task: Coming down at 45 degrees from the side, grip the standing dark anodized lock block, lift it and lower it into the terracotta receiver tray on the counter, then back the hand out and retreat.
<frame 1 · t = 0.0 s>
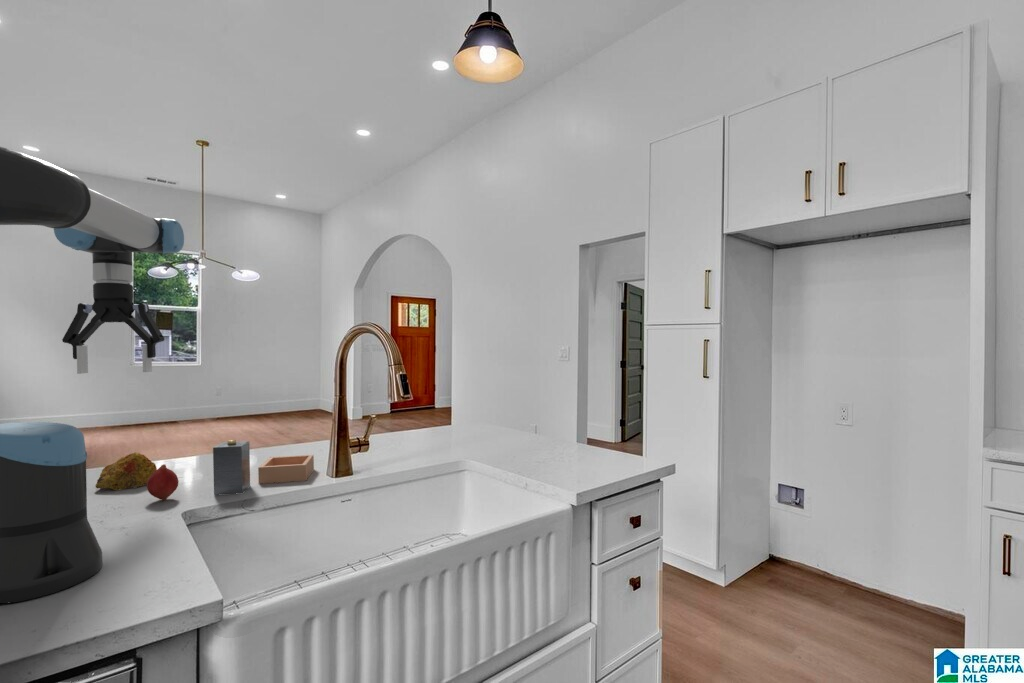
hand: (115, 372, 123), 28 cm above the worktop, tool pointing down, fingers open, 13 cm apart
onion: (163, 500, 115), on the worktop
lock block: (232, 490, 121), on the worktop
rock: (128, 486, 127), on the worktop
receiver tray: (287, 476, 133), on the worktop
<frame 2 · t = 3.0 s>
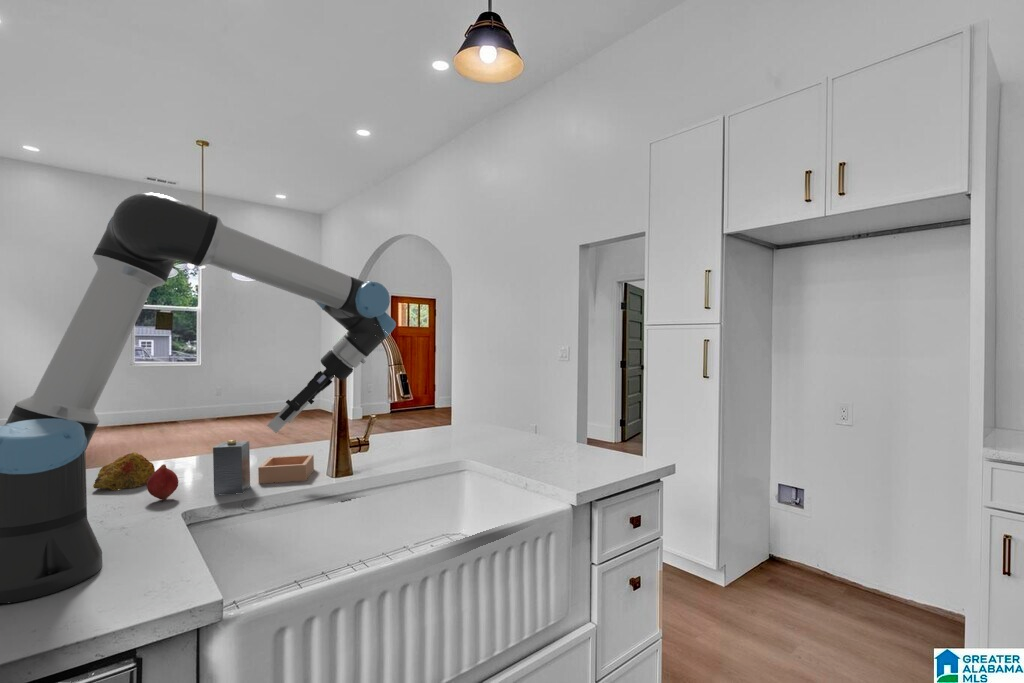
hand: (278, 423, 123), 15 cm above the worktop, tool tilted 45°, fingers open, 13 cm apart
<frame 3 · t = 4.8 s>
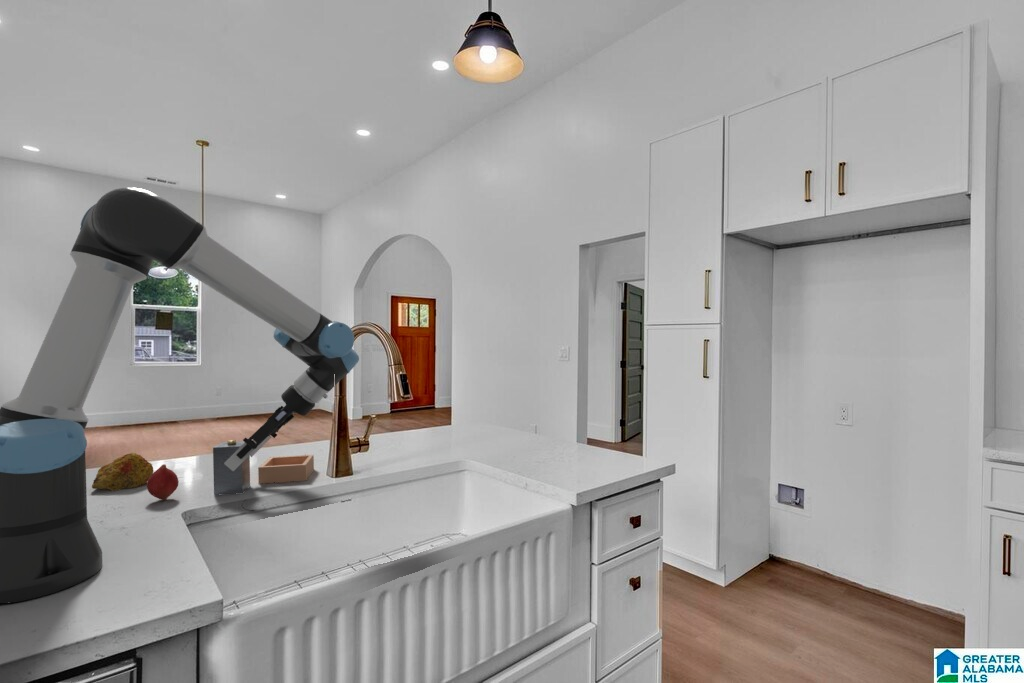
hand: (238, 459, 122), 7 cm above the worktop, tool tilted 45°, fingers open, 13 cm apart
nothing on the worktop moved.
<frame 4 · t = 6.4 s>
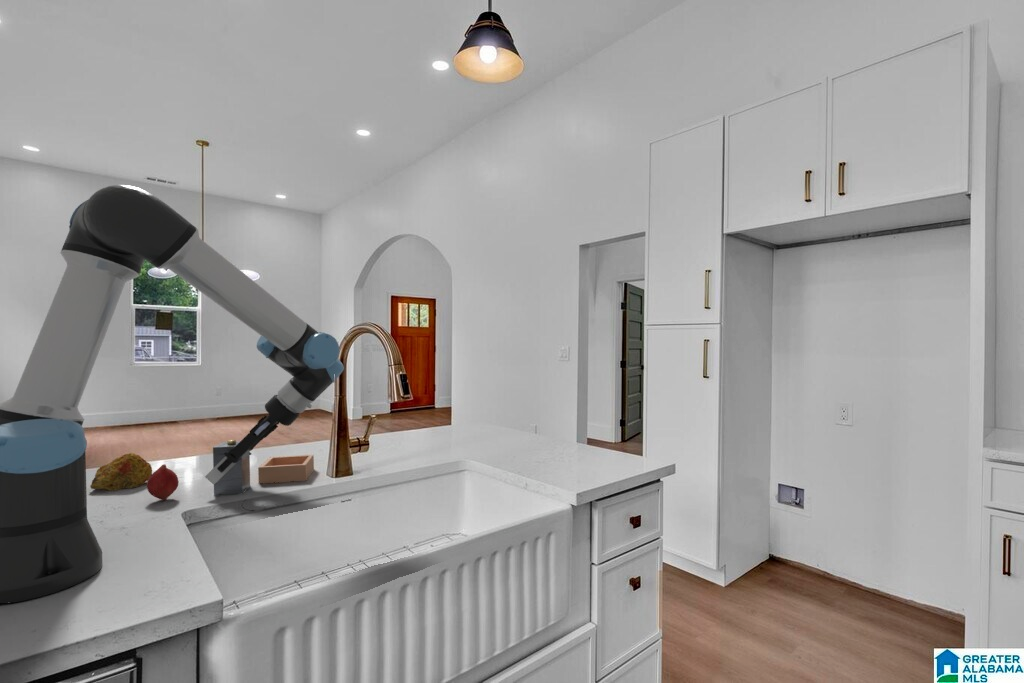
hand: (215, 476, 121), 4 cm above the worktop, tool tilted 45°, fingers closed on lock block, 6 cm apart
lock block: (232, 490, 121), on the worktop, touching gripper
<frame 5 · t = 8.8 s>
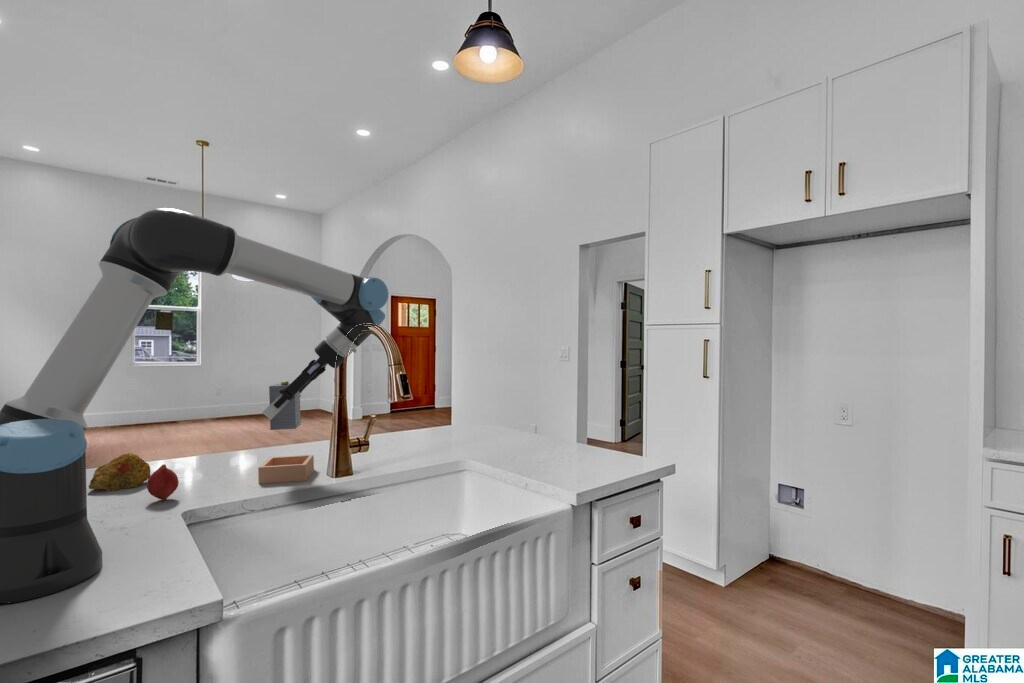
hand: (270, 413, 132), 16 cm above the worktop, tool tilted 45°, fingers closed on lock block, 6 cm apart
lock block: (285, 427, 133), point 13 cm above the worktop, touching gripper
when the fingers open (6 cm above the worktop, at t = 11.6 s): lock block drops 1 cm, resting on receiver tray.
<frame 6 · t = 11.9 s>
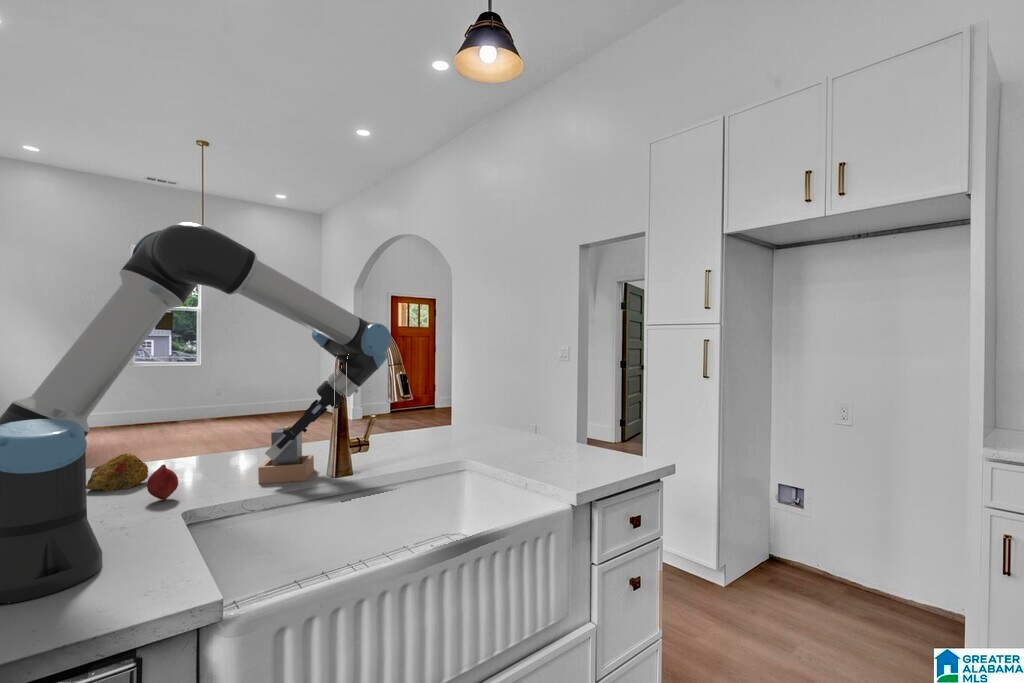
hand: (275, 451, 133), 7 cm above the worktop, tool tilted 45°, fingers open, 10 cm apart
lock block: (287, 472, 133), point 1 cm above the worktop, touching receiver tray
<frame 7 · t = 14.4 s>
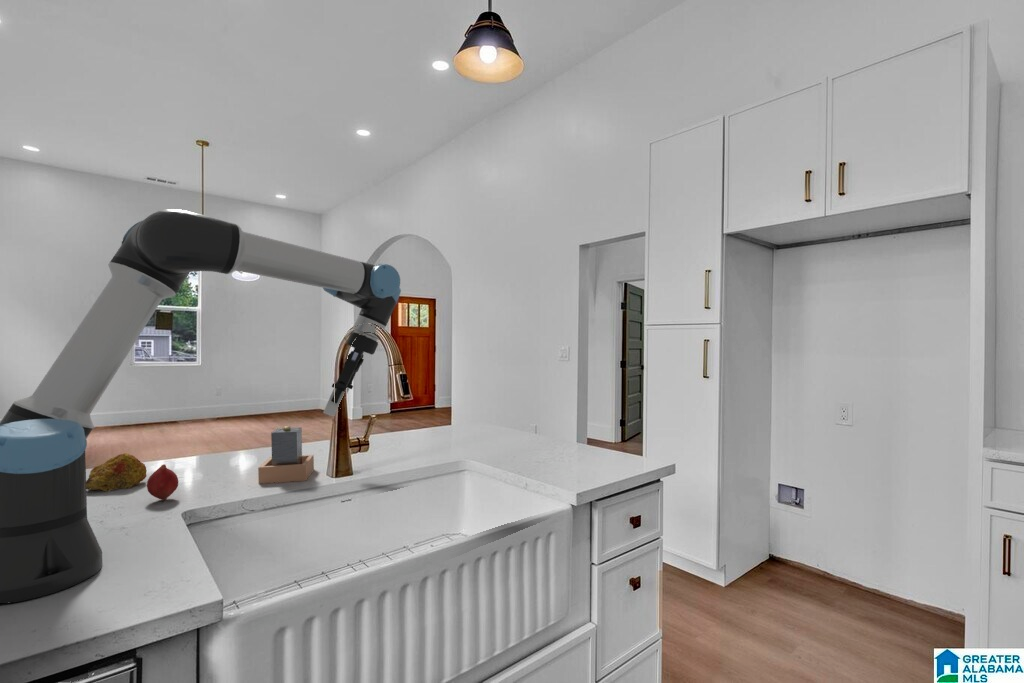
hand: (331, 412, 132), 17 cm above the worktop, tool tilted 25°, fingers open, 13 cm apart
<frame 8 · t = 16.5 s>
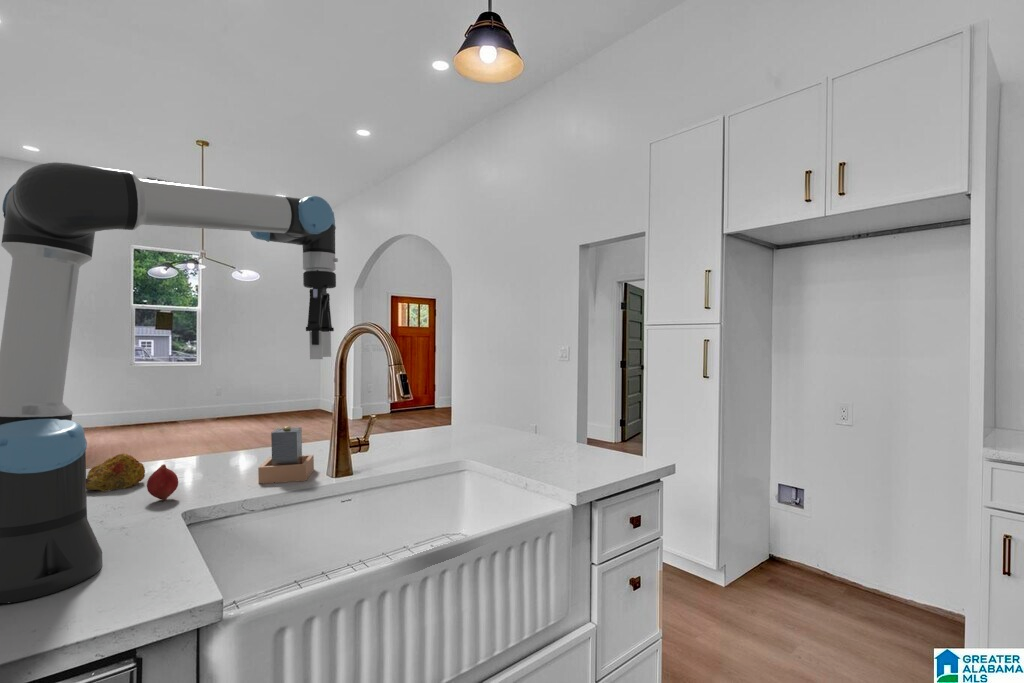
hand: (321, 358, 127), 31 cm above the worktop, tool pointing down, fingers open, 13 cm apart
at the end: lock block inside the target area on the receiver tray (0.0 cm from its centre), point 1.0 cm above the receiver tray's base; lock block tilted 0°; the gripper is holding nothing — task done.
